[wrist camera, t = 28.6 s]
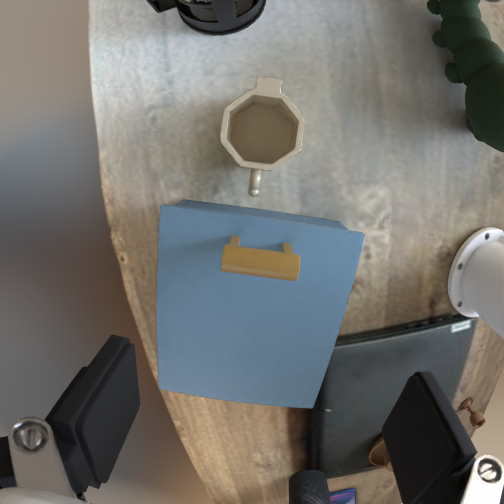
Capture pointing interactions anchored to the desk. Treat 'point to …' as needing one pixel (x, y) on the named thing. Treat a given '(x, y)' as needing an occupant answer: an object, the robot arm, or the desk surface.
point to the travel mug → (308, 488)
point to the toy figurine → (473, 66)
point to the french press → (223, 9)
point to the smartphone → (343, 497)
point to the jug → (262, 129)
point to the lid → (249, 304)
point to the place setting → (379, 451)
